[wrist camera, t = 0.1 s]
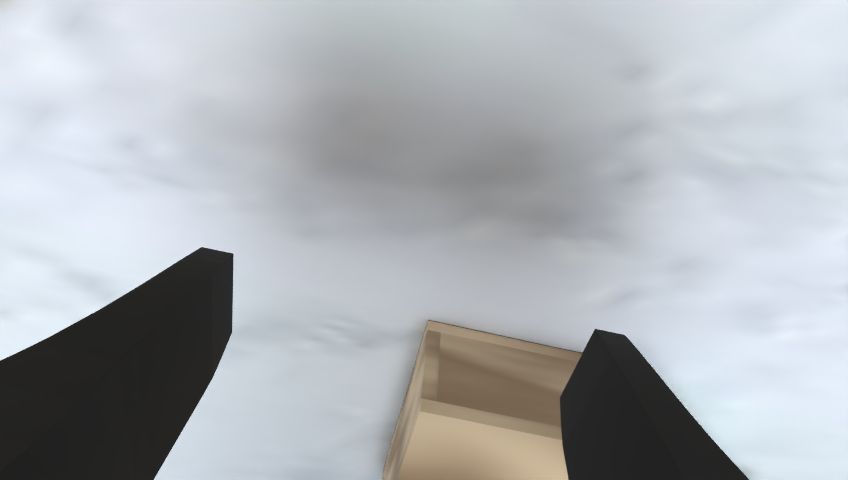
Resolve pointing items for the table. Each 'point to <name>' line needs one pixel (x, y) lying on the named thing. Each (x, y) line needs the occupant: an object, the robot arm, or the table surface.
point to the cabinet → (481, 409)
